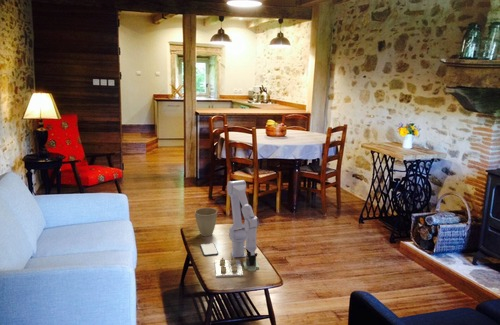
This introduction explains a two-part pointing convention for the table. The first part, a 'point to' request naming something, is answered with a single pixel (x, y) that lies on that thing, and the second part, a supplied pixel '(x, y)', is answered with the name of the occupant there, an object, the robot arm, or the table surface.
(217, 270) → the plate
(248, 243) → the robot arm
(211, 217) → the plant pot
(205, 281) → the table surface
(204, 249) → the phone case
